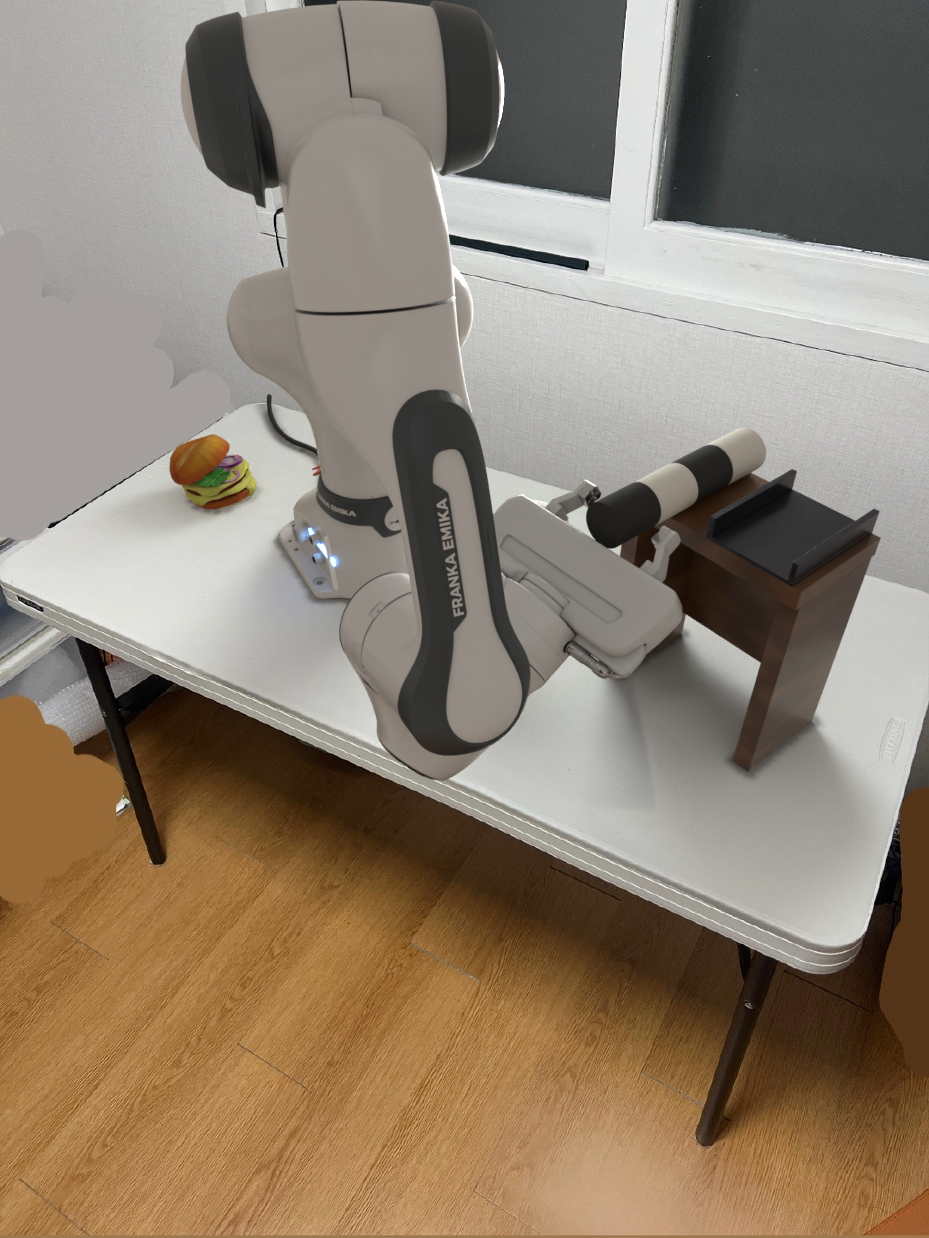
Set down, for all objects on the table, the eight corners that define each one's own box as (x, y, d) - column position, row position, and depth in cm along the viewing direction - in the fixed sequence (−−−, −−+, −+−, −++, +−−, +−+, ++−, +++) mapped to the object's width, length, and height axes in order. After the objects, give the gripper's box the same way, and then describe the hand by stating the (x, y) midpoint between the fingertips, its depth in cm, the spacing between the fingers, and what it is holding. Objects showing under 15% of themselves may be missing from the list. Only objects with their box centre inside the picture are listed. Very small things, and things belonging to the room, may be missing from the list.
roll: (622, 555, 78) (621, 510, 75) (586, 539, 81) (584, 496, 78) (764, 475, 87) (768, 433, 85) (727, 463, 90) (729, 422, 88)
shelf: (602, 668, 102) (624, 491, 86) (672, 623, 108) (705, 449, 92) (745, 774, 90) (801, 592, 74) (815, 718, 96) (881, 537, 80)
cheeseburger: (252, 513, 126) (222, 454, 119) (184, 528, 128) (150, 471, 121) (265, 473, 133) (237, 416, 127) (200, 488, 135) (169, 432, 129)
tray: (705, 537, 80) (710, 515, 79) (786, 489, 86) (792, 468, 84) (792, 587, 75) (798, 565, 73) (872, 533, 80) (880, 511, 79)
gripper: (605, 675, 70) (720, 544, 71) (443, 553, 82) (543, 443, 83) (626, 704, 75) (732, 581, 76) (470, 585, 87) (564, 481, 88)
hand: (632, 508), depth 79 cm, fingers open, 8 cm apart
